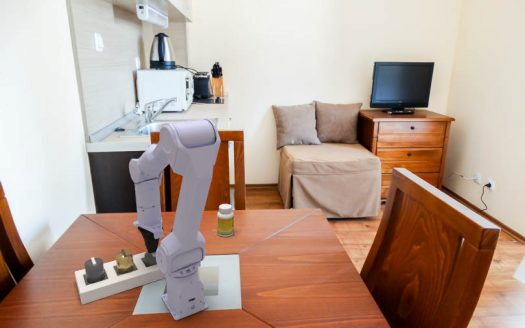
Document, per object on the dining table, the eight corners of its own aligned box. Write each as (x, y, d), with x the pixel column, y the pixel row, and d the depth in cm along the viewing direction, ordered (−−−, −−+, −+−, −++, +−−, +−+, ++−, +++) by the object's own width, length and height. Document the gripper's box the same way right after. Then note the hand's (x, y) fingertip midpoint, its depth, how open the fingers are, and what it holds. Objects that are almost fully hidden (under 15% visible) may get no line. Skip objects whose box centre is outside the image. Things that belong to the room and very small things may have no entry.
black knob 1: (106, 280, 85) (104, 262, 84) (88, 285, 83) (85, 267, 81) (103, 271, 88) (100, 254, 87) (85, 276, 86) (83, 259, 85)
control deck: (174, 274, 92) (174, 264, 91) (82, 304, 80) (80, 293, 79) (162, 256, 100) (161, 247, 99) (76, 281, 88) (74, 271, 87)
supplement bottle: (216, 230, 116) (216, 203, 113) (232, 228, 117) (232, 202, 114) (218, 238, 111) (217, 210, 108) (234, 236, 112) (234, 209, 109)
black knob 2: (163, 269, 93) (162, 253, 92) (148, 274, 91) (146, 257, 90) (158, 262, 96) (157, 246, 95) (143, 267, 94) (142, 250, 93)
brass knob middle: (135, 271, 89) (134, 253, 87) (119, 276, 87) (117, 258, 85) (131, 263, 92) (130, 246, 90) (115, 268, 90) (113, 251, 88)
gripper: (124, 197, 92) (129, 243, 96) (140, 218, 80) (144, 269, 84) (151, 192, 95) (155, 236, 99) (170, 211, 84) (173, 260, 88)
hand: (152, 251), depth 92 cm, fingers closed
